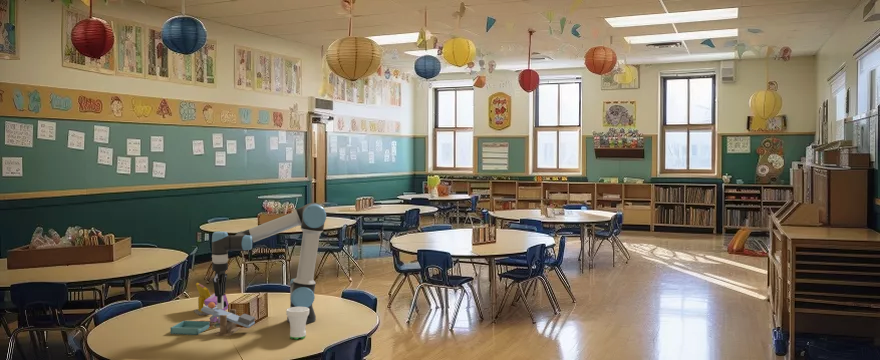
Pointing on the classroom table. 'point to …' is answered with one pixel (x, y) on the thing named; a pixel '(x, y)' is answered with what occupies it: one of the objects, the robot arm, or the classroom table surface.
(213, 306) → the ball
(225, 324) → the fulcrum
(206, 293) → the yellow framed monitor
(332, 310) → the classroom table surface
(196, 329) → the tray
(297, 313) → the cup
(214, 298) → the toy
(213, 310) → the lever
